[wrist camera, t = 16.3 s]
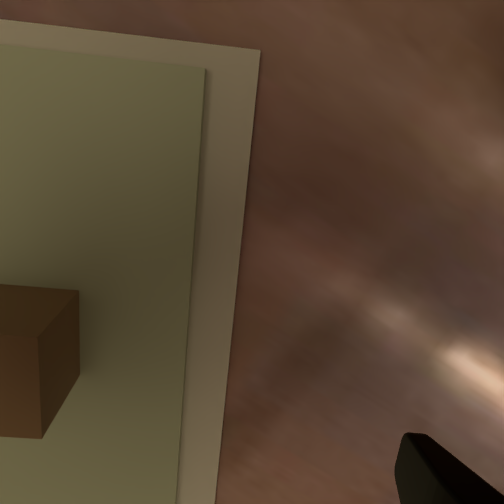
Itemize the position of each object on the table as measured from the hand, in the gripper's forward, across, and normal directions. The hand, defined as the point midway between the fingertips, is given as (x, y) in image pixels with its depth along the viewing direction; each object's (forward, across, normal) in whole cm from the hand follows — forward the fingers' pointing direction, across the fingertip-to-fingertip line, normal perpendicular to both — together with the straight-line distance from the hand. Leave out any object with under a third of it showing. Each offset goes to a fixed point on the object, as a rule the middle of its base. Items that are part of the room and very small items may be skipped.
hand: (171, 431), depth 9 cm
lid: (+11, +7, +4) cm, 14 cm away
